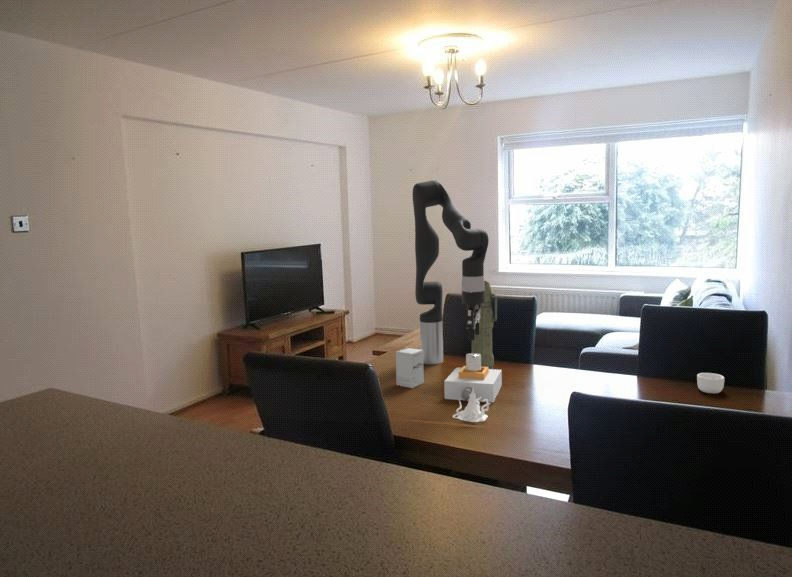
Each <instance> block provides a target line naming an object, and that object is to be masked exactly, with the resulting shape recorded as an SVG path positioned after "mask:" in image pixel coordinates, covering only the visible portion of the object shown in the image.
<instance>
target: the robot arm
mask: <svg viewBox="0 0 792 577" xmlns="http://www.w3.org/2000/svg"><path fill="white" fill-rule="evenodd" d="M412 203H413V204H412V206H413V213H414V214H413V216H414V232H415V233H414V234H415V236H414V249H415V250H414V251H415V268H416V270H415V289H414V290H415V294H414V295H415V301H416V303H417V304H418V305H424V306H425V305H428V306H429V305H434V306H433V307H432V308H430V309H429V310H427V311H424V312H421V313H420V315H419V334H420V335H419V336H420V338H419V340H420V341H419V343H420V348H419V349H420V350H423V365H424V364H425V365H438V364H442V363H444V337H443V335H444V333H443V332H444V330H443V327H444V326H443V284H442V283H441V281H425V278H426V276H427V274H428V273H429V270H430V269H431V267H433V265H434V264H435V263H436V261H437V259H438V257H439V254H440V237H439V235H438V234H437V231H436V230H435V228H433V226H432V225H431V223H430V222H429V220H428V217H427V214H426V213H427V212H426V211H427V208H430V207H435V206H440V207H442V211H441V212H442V213H441V220H442V223H443V224H444V226H445V227H446V229H448V230H449V231H450V233H451V234H452V236H453V239H454V242H455V244H456V247H457V248H459V250H461V251H465V252H468V251H469V252H470V251H472V253H471V255H470V256H469V257H465V258H464V259H463V260H462V261H461V271H462V272H461V275H462V276H461V277H462V278H461V303H462V304H463V305H466V304H467V305H468V310H466V309H465V329H467V340H468V341H472V340H475V335H479V334H480V327H479V324H480V321H481V304H484V303H485V283H484V281H485V276H484V275H485V274H484V273H485V272H484V268H485V267H484V263H485V259H486V256H487V255H486V254H487V251H488V247H489V241H490V240H489V235H488V233H487V231H486V230H485V229H483V228H472V225H471V222H470V220H469V219H468V218H467V217H466V216H465V215H464V214H463V213H462V212H461V211H460V209H459V208H458V207H457V205H456V204H455V202H454V201H453V198H452V197H451V196H450V194H449V193H448V191H447V190H446V187H445V186H444V185H443V184H442V182H440V181H439V180H437V179H436V180H429V181H422V182H418V183H415V184H414V185H413V188H412ZM470 323H472V324H470Z"/></svg>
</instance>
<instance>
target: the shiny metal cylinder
mask: <svg viewBox="0 0 792 577" xmlns="http://www.w3.org/2000/svg"><path fill="white" fill-rule="evenodd" d="M465 366H466V372H481V354H478V353H472V352H471V353H466V354H465Z"/></svg>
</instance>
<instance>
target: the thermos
mask: <svg viewBox="0 0 792 577" xmlns="http://www.w3.org/2000/svg"><path fill="white" fill-rule="evenodd" d="M484 283H485V303H484V304H481V321H480V324H479V327H480V334H479V335H475V340H471V353H478V354H481V367H489V369H494V366H495V357H494V354H493V328H494V323H495V322H497V320H498V296H497V295H496V294H495V293H492V287H491V285H490V282H489V281H487V280H484ZM492 297H493V298H494V312H493V308H492ZM466 310H468V305H467V304H465V311H466ZM470 324H472V323H470Z"/></svg>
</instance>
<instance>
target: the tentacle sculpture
mask: <svg viewBox="0 0 792 577" xmlns="http://www.w3.org/2000/svg"><path fill="white" fill-rule="evenodd" d="M469 396H470V398H469V401H467V402H468V403H467V405H466V406H465V407H464V410H461V409H462V407H463V405H462V402H461V400H458V402H459V407H458V408H456V410H455V413H454V414H453V415H452V418H453V419H455V420H460V421H464V422H469V423H470V422H471V423H478V422H485V421H486V420H487V419H488V415H487V414H486V413H485V412H488V411H489V408H490V407H489V406H490V405H491V404H492V402H488V399H484V400H483V401H487V402H485V404H483V405H481V404H480V403H481V402H480V401H478V400H479V399H480V398H481V397H480V398H478V399H476V395H475V393H474V387H473V389H472V393H471V395H470V394H469ZM459 410H461V411H459Z"/></svg>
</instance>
